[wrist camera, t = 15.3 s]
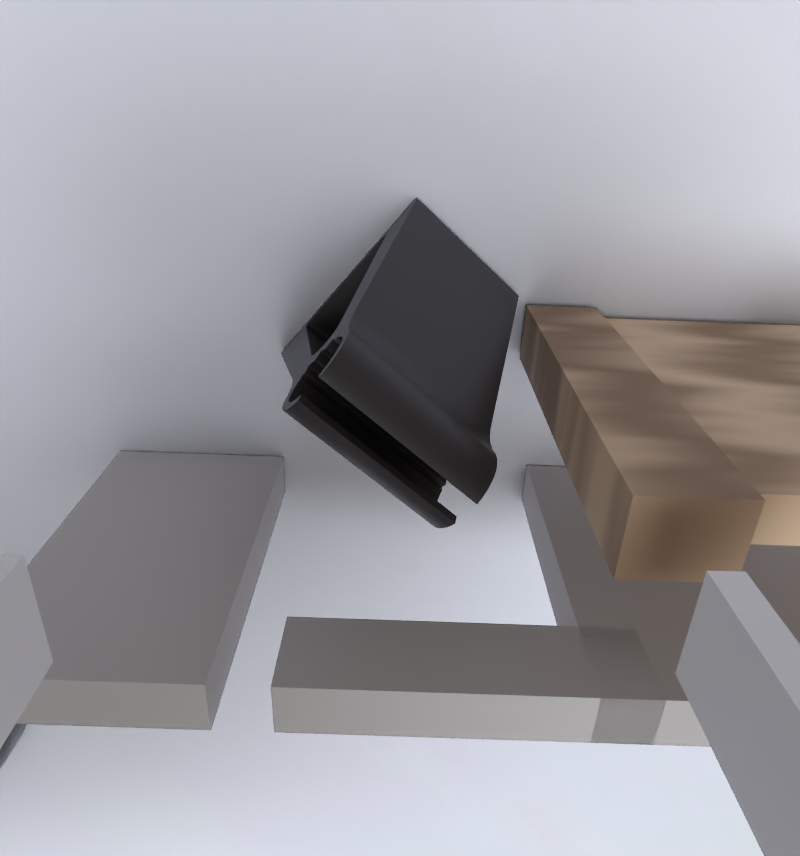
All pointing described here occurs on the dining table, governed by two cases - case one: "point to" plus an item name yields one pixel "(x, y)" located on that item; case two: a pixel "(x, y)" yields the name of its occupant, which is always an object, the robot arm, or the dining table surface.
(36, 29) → the dining table surface
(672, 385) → the door
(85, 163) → the dining table surface
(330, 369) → the phone stand
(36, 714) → the wall
